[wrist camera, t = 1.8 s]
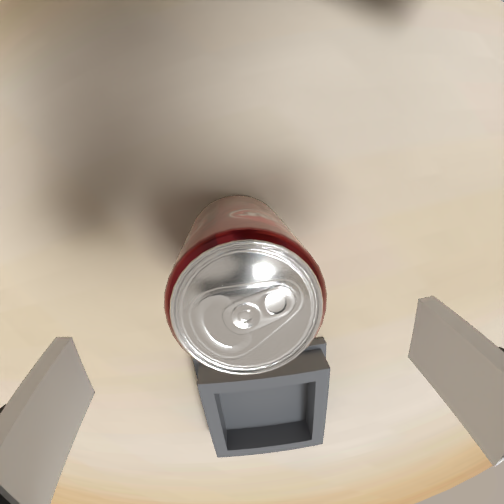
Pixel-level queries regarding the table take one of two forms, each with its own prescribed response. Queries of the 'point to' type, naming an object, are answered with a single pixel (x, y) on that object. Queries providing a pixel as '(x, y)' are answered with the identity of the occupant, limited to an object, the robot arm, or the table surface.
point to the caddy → (267, 405)
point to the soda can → (244, 290)
